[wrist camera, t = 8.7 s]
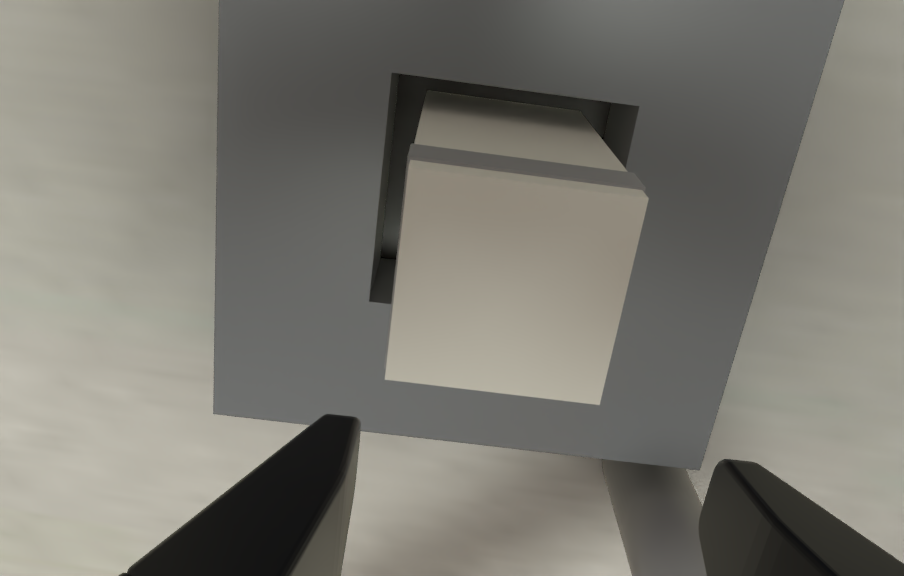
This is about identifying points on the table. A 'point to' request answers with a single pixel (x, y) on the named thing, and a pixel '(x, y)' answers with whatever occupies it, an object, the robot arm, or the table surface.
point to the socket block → (371, 278)
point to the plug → (511, 251)
